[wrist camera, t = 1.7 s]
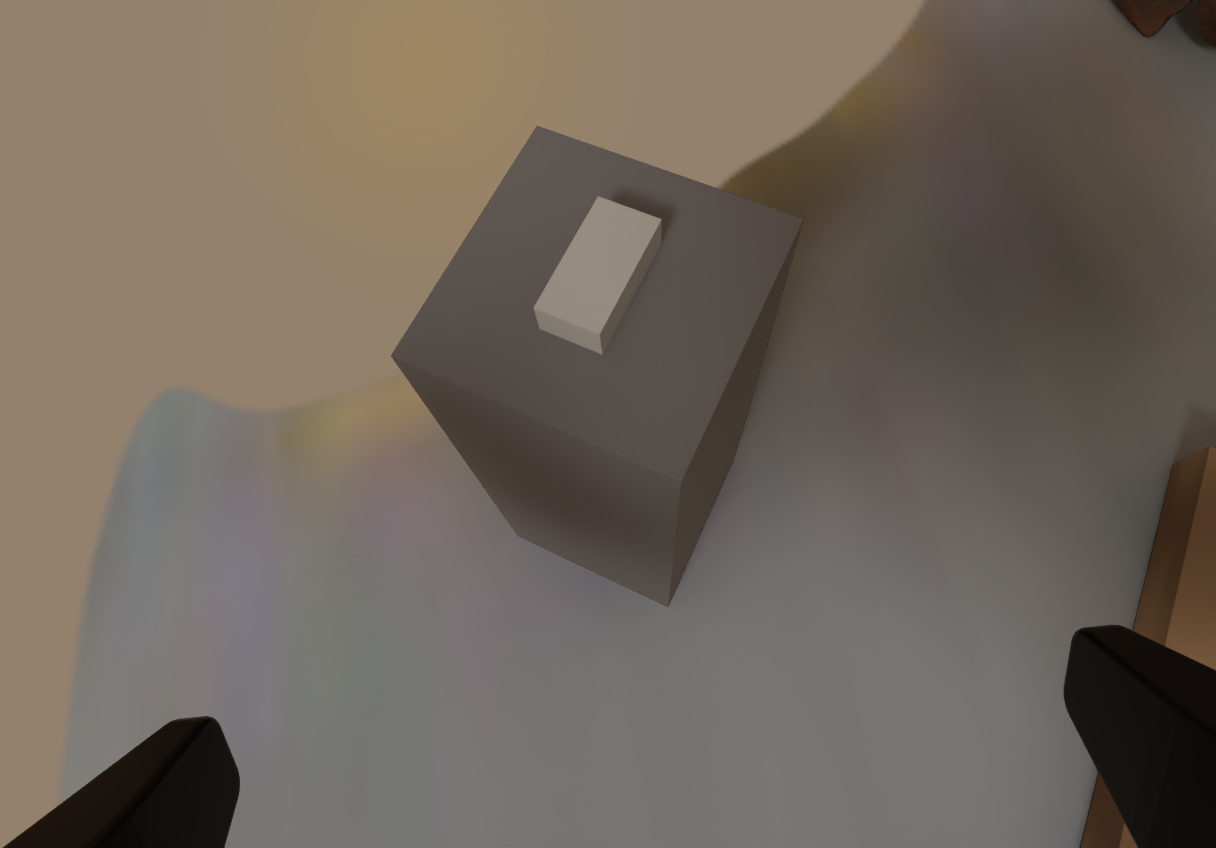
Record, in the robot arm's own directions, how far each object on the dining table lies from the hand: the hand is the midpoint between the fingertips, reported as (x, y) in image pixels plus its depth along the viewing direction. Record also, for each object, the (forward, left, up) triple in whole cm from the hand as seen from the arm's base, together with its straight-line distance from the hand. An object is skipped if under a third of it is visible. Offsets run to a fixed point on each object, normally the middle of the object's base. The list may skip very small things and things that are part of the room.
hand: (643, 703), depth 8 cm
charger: (+5, +3, -12) cm, 13 cm away
